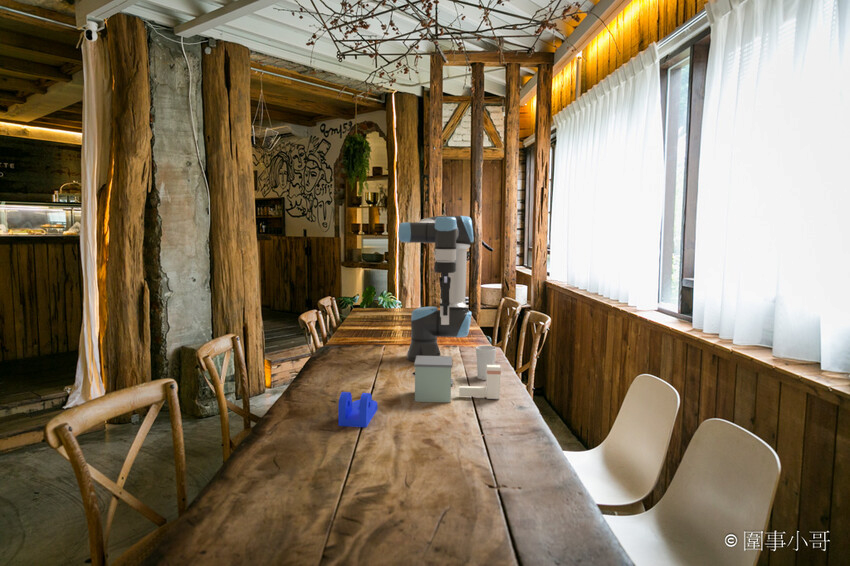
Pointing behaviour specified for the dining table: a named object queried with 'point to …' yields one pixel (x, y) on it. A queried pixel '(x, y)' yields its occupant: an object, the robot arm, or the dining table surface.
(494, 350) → the cup
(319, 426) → the dining table surface
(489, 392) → the pink striped cream block
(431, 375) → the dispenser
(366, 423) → the bracket
